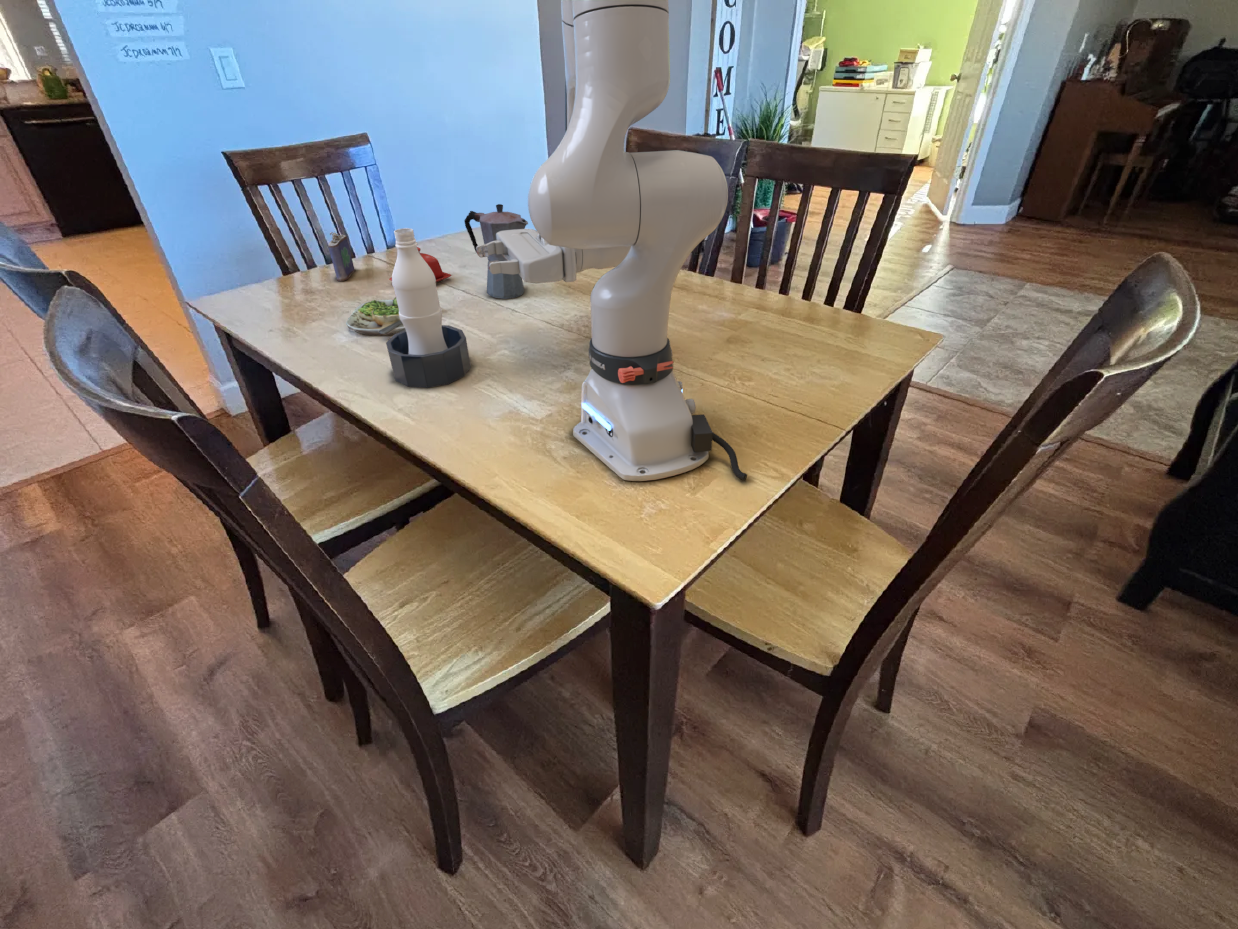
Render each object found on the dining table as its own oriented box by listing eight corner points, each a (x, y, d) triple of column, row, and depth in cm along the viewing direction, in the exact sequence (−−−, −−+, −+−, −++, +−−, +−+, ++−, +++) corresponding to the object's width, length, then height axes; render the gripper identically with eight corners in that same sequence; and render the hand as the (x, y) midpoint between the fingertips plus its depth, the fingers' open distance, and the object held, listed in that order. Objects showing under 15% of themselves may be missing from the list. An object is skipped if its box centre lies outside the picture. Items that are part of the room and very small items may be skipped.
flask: (345, 281, 155) (333, 237, 149) (334, 281, 155) (321, 237, 149) (357, 269, 163) (346, 227, 157) (345, 270, 163) (334, 227, 157)
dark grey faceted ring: (476, 378, 112) (471, 348, 109) (398, 393, 108) (391, 362, 105) (462, 349, 123) (457, 320, 119) (390, 361, 118) (383, 332, 115)
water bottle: (431, 382, 111) (401, 239, 97) (404, 373, 114) (370, 232, 100) (460, 366, 116) (435, 228, 102) (432, 358, 119) (405, 222, 105)
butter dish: (424, 271, 161) (417, 237, 156) (454, 279, 156) (448, 245, 151) (387, 284, 154) (379, 249, 149) (418, 293, 148) (410, 257, 143)
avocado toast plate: (424, 340, 126) (419, 318, 123) (335, 342, 126) (328, 321, 123) (442, 305, 142) (439, 285, 139) (363, 307, 141) (358, 287, 139)
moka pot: (528, 302, 143) (519, 210, 131) (465, 298, 145) (451, 207, 134) (541, 287, 150) (533, 199, 139) (481, 284, 153) (468, 197, 141)
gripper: (540, 217, 118) (468, 225, 114) (576, 247, 103) (494, 258, 99) (543, 250, 122) (473, 260, 118) (578, 284, 107) (499, 296, 103)
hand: (483, 259), depth 108 cm, fingers open, 8 cm apart
